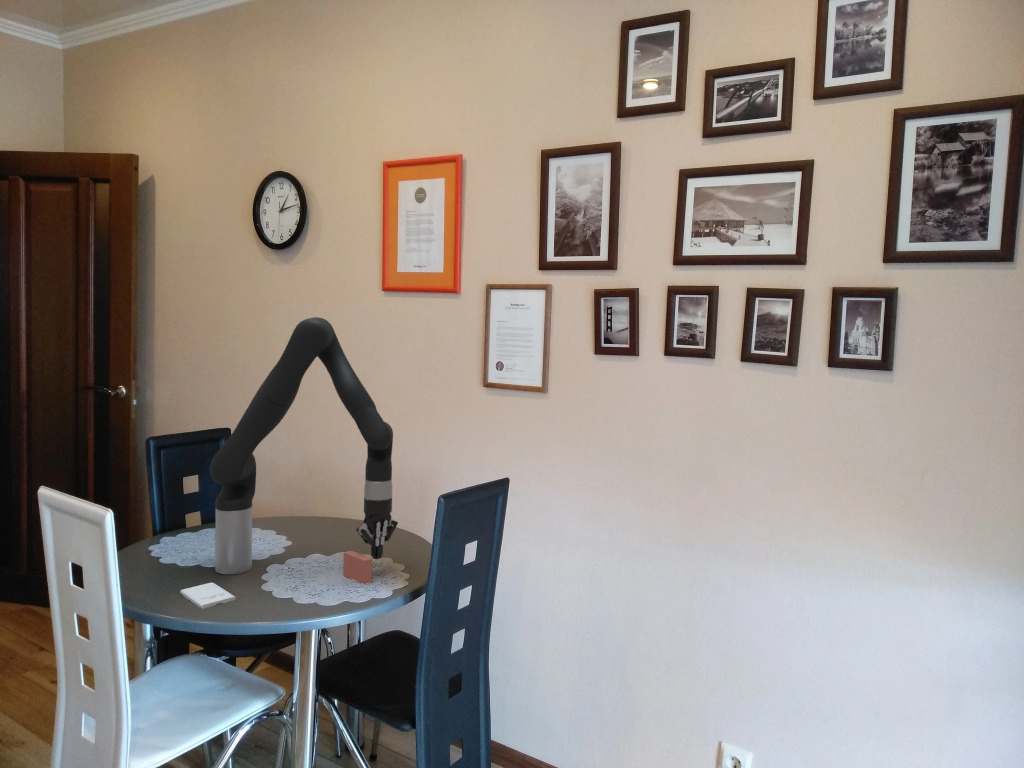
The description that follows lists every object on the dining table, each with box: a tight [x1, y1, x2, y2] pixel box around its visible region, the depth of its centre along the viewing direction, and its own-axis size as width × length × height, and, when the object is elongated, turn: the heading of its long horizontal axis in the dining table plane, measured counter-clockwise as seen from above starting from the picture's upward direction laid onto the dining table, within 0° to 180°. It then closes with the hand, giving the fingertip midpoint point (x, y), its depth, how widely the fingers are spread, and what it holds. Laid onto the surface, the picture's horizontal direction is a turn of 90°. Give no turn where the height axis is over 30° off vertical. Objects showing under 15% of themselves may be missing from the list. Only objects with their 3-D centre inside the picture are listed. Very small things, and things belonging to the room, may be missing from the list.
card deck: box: [342, 550, 373, 585], centre depth 183 cm, size 9×2×6 cm, turn 50°
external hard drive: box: [179, 582, 236, 610], centre depth 168 cm, size 2×8×12 cm
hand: (376, 558), depth 187 cm, fingers closed
